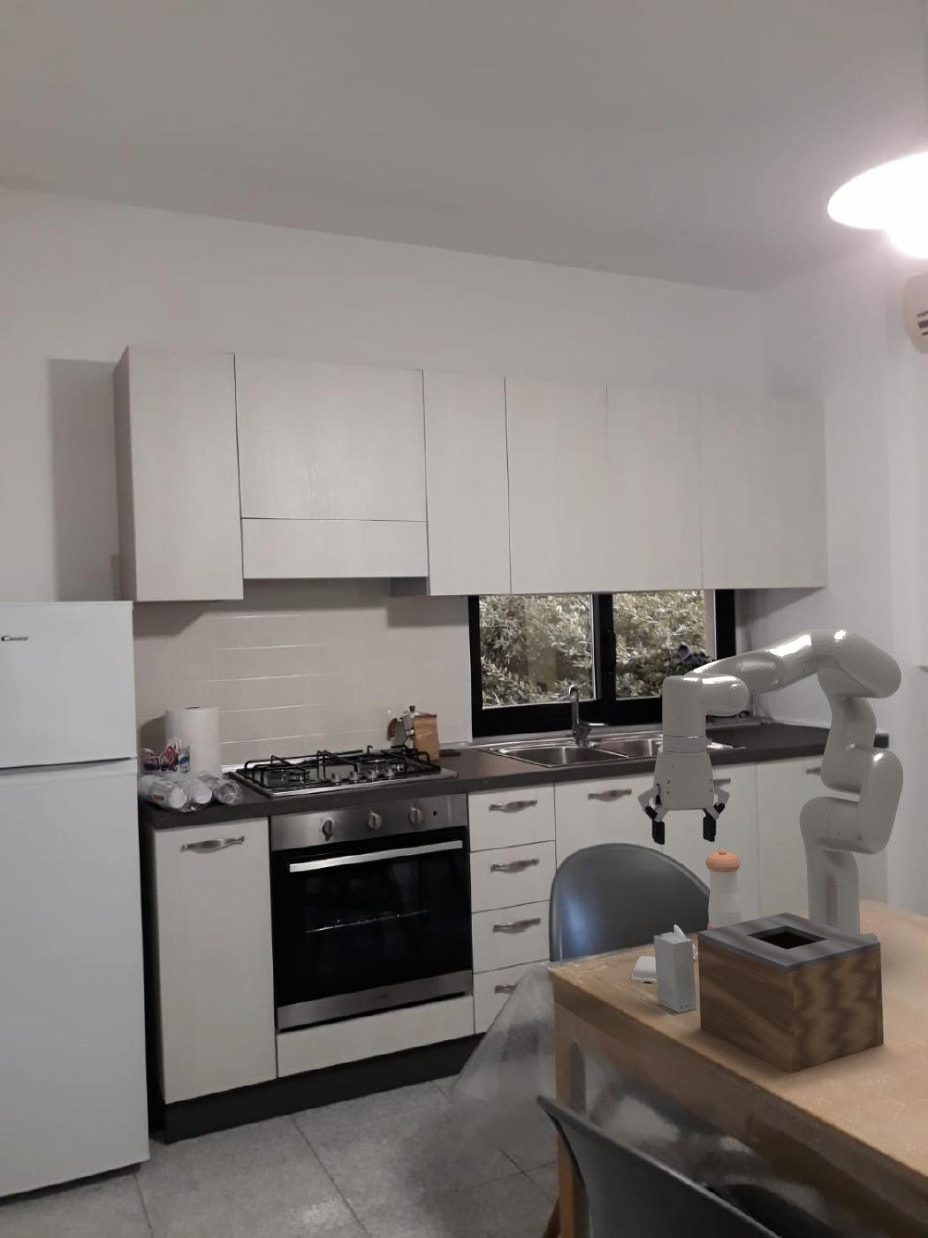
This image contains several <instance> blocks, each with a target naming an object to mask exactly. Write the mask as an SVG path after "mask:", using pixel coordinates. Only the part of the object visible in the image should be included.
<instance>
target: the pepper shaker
mask: <svg viewBox="0 0 928 1238" xmlns="http://www.w3.org/2000/svg"><path fill="white" fill-rule="evenodd" d="M705 866H706V867H707V870H709V885H710V887H709V888H710V889H709V899H708V906H707V909H708V910H707V911H708V923H707V930H710V929H714V928H719V927H723V926H728V925H732V924H737V923H741V922H742V906H741V905H742V904H741V901H740V896H739V895H740V894H739V890H738V871H739V869H740V867H741V861H740V858H739V857H738V856H737V855H735V854H734V853H731V852H727V851H726V849H720V850H718V852H713V853H712V854H710V855H708V856H707V858H706V861H705Z"/></svg>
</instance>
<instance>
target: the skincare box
mask: <svg viewBox="0 0 928 1238" xmlns="http://www.w3.org/2000/svg"><path fill="white" fill-rule="evenodd" d="M685 937H686V936H685ZM685 937H683V936H680V935H678V934H675V932H672V931H669V932H666V933H661V934H657V935H654V936H653V943H654V945H653V946H654V957H655V961H656V976H657V984H656V985H657V987H656V988H657V1000H658V1001H657V1002H658V1003H659V1004H661V1005H663V1006H664V1007H666V1008H669V1009H670V1010H673V1011H675V1012H676V1013H687V1012H690V1011H695V1010H696V1009H697V997H696V996H697V994H696V981H695V980H696V979H695V965H694V964H695V962H694V961H695V960H693V956H694V955H693V945H692V943H693V940H692V939H690V938H687V937H686V938H685Z"/></svg>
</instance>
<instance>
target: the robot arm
mask: <svg viewBox="0 0 928 1238" xmlns="http://www.w3.org/2000/svg"><path fill="white" fill-rule="evenodd" d="M813 675H816V678H817V681H818V683H819V686H820V688H821V690H822V691H823V693H824V696H825V697H826V699H827V701H828V705H829V707H830V711H831V722H830V727H829V733H828V737H827V739H826V744H825V748H824V752H823V755H822V760H821V766H820V771H819V775H820V780H821V782H822V784H823V785H824V786H825V787H826V788H828V789H830V790H833V791H836V792H837V793H838V792H839V793H844V794H851V795H855V796H859V798H858V801H856V800H850V799H848V798H841V797H836V796H835V797H834V796H816V797H812V798H810V799H809V800H808V801H806V802H805V803H804V804H803V805H802V807H801V809H800V812H799V828H800V833H801V837H802V840H803V846H804V851H805V852H804V853H805V860H806V863H805V864H806V882H807V883H806V884H807V888H806V889H807V912H808V915H807V916H808V919H809V920H812V921H816V922H819V923H822V924H825V925H828V926H831V927H834V928H837V929H841V930H844V931H847V932H850V933H853V934H856V935H859V936H863V937H866V938H869V939H872V940H875V941H878V937H877V934H876V933H874V932H869V933H865V934H864V933H861V916H860V914H861V913H860V911H861V910H860V889H859V888H860V886H859V883H860V882H859V881H860V880H859V878H860V877H859V868H858V863H857V861H856V858H855V855H854V853H856V854H862V855H877V854H879V853H880V852H882V851H883V850H884V849H885V848H886V846H887V845H888V843H889V841H890V839H891V835H892V834H893V833H892V832H893V828H894V824H895V819H896V815H897V812H898V807H899V803H900V798H901V795H902V790H903V786H904V770H903V768H904V767H903V765H902V762H901V760H900V759H899V757H898V756H897V755H896V754H895V753H894V752H892V751H891V750H889V749H887V748H886V749H885V748H883V747H881V748H880V747H875V746H874V742H875V740H876V739H875V738H876V734H877V728H878V727H877V725H878V724H877V723H878V722H877V717H876V715H875V712H874V710H873V708H872V706H871V704H870V703H869V700H868V699H879V700H880V699H886V698H890V697H891V696H893V695H894V694H895V693H896V692H897V691H898V690H899V688H900V686H901V684H902V672H901V668H900V666H899V664H898V662H897V661H896V659H895V658H894V657H892V656H891V655H890V654H889V653H888V652H886V651H884V650H883V649H881V648H880V647H879V646H878V645H875V644H874V643H873V642H871V641H869V640H868V639H866V638H864V637H863V636H862V635H860V634H859V633H856V632H854V631H852V630H849V629H845V628H809V629H805V630H801V631H798V632H796V633H794V634H792V635H789V636H787V637H785V638H782V639H780V640H778V641H775V642H773V643H771V644H769V645H766V646H764V647H762V648H759V649H755V650H751V651H746V652H744V653H741V654H737V655H733V656H730V657H725V658H721V659H718V660H715V661H712V662H709V663H706V664H704V665H701V666H699V667H697V668H694V669H693V670H690V671H688V672H687V673H685V674H683V675H670V676H666V677H665V678H664V680H663V681H662V690H661V691H662V703H661V704H662V716H661V717H662V719H661V721H662V751H661V752H657V755H656V761H655V766H654V774H653V782H652V783H653V785H652V787H651V788H649V789H647V790H646V791H643V793H641V794H640V795H638V797H637V800H638V802H639V805H640V806H641V809H642V811H643V812H644V813H645V815H647V817H648V818H649V819H650V820H651V837H652V839H653V842H654V843H656V844H658V845H660V846H664V845H665V844H666V843H665V842H666V836H665V835H666V823H665V821H663V819H664V818H665V816H666V815H667V814H668V812H669V811H673V812H674V811H675V812H676V811H694V810H696V811H697V810H699V811H700V810H701V811H702V812H703V813H704V815H705V816H703V818H702V838H703V840H705V841H708V842H710V843H714V842H715V841H716V836H717V820H718V819H719V818H720V815H721V814H722V812H723V811H724V810H725V808H726V805H727V803H728V802H729V798H730V793H729V792H727V791H726V790H724V789H722V788H720V787H718V786H716V785H714V776H713V769H712V767H713V766H712V762H711V758H710V754H709V752H706V751H707V747H709V746H712V745H713V739H712V738H711V737H707V735H706V730H707V728H706V726H707V725H706V723H707V722H706V719H707V718H706V716H707V715H711V716H719V717H732V716H735V715H737V714H739V713H741V712H742V711H743V710H744V709H745V708H746V707H747V705H748V703H749V698H750V695H754V694H755V695H756V694H757V695H758V694H767V693H773V692H778V691H782V690H783V689H785V688H787V687H790V686H792V685H793V684H796V683H798V682H800V681H802V680H804V679H807V678H809V677H810V676H813ZM715 796H717V801H716V802H715V801H714V800H715ZM650 800H652V803H653V805H654V808H653V807H652V806H651V803H650ZM714 802H715V803H714Z"/></svg>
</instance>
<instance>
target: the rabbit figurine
mask: <svg viewBox="0 0 928 1238" xmlns="http://www.w3.org/2000/svg"><path fill="white" fill-rule="evenodd" d="M673 931H674V932H673V933H675V934H678V935H680V936H683V937H685V938H687V937H686V935H685V933H684V932H683V931H682V928H680V927H679V925H677V924H674V925H673ZM692 945H693V960H694V961H695V960H696V959H697V958H698V950H697V947H696V946H695V943H693V942H692ZM696 957H697V958H696Z"/></svg>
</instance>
